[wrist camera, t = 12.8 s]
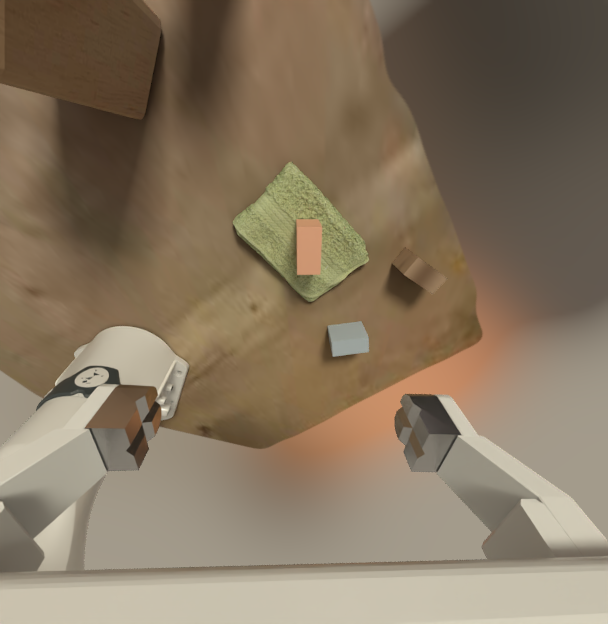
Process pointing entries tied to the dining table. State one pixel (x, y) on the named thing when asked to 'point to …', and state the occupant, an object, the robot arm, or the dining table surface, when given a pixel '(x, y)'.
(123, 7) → the block
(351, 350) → the brick slate
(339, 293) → the dining table surface
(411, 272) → the brick walnut
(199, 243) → the dining table surface
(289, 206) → the washcloth
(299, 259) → the brick terracotta
